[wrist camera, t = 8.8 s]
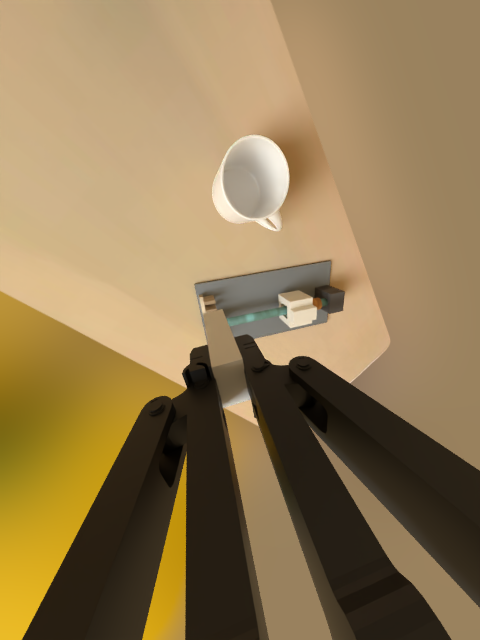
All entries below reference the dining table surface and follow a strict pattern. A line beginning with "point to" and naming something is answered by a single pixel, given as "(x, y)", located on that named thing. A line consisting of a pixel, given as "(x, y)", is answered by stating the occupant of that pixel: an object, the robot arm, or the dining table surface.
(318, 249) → the dining table surface
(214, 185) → the mug
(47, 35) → the dining table surface
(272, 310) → the comb rail
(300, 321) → the sleeve
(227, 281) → the mat
